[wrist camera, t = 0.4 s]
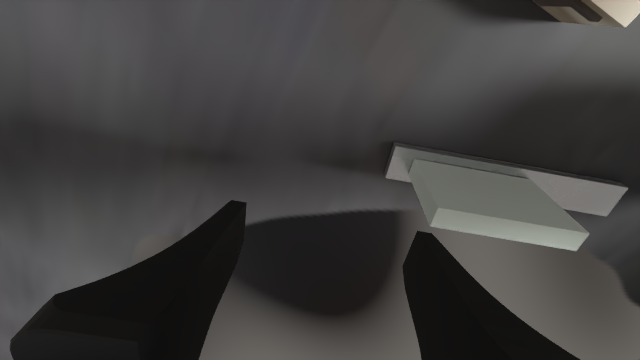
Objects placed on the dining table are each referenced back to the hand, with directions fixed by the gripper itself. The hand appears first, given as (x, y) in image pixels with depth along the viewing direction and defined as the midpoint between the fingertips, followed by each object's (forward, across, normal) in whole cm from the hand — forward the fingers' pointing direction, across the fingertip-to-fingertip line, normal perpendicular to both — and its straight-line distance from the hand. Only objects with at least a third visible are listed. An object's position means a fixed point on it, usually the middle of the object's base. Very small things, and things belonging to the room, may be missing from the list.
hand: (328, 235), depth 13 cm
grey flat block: (+9, -9, 0) cm, 13 cm away
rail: (+9, -12, 0) cm, 15 cm away
